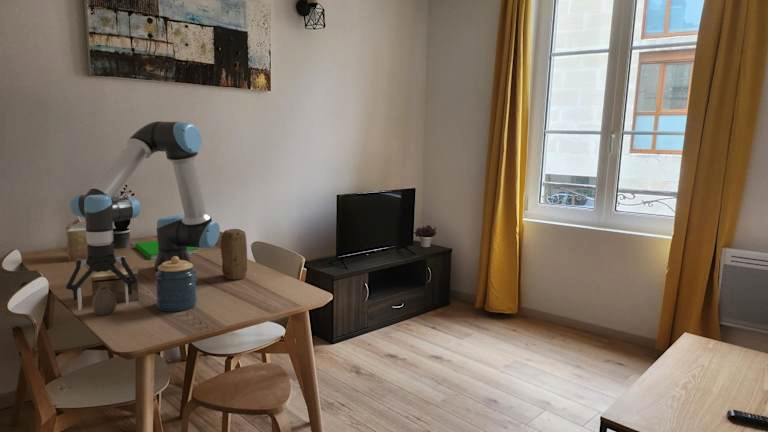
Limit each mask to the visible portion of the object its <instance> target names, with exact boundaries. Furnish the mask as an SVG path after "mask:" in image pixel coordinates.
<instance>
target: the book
mask: <svg viewBox="0 0 768 432" xmlns="http://www.w3.org/2000/svg"><path fill="white" fill-rule="evenodd" d="M134 248H135V249H137V250H138V251H139V252H140V253H141V254H142V255H143V256H145V258H147V259H148V260H150V261H151V260H156V258H157V254H158V241H157V240H152V241H143V242H136V243H135V245H134ZM198 250H199V248H195V247H187V252H188V254H190V255H193V254H192V253H198Z"/></svg>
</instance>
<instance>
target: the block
mask: <svg viewBox="0 0 768 432" xmlns="http://www.w3.org/2000/svg"><path fill="white" fill-rule="evenodd" d="M246 234H247V233H246V231H245V230H242V229H239V228H229V229H226V230H224V231H223V233H222V235H221V238H220V252H221V259H222V261H221V262H222V265H221V267H222V270H221V271H222V274H223V276H224V277H225V278H227V279H228V280H234V281H235V280H242V279H244V278H245V277H246V276H247V271H248V247H247V246H248V244H247V235H246Z"/></svg>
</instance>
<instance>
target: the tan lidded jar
mask: <svg viewBox="0 0 768 432" xmlns="http://www.w3.org/2000/svg"><path fill="white" fill-rule="evenodd" d="M65 237H66V247H67V258H68V262H69V263H76V262H77V260H78V259H79V258H80V259H81V260H87V259H88V253H87V245H88V243H87V238H86V222H85V220H82V219H81V217H79V216H77V219H76V220H74V221H73V222H71V223H69V224H67V226H66V227H65Z"/></svg>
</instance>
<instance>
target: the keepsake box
mask: <svg viewBox="0 0 768 432" xmlns="http://www.w3.org/2000/svg"><path fill="white" fill-rule="evenodd" d="M138 277H139V276H138ZM138 277H136V278H137V283H134V284H132V294H130V295H128V297H129V302H134V301H135V302H136V301H139V297H140V296H139V278H138ZM128 278H129V279H130V280H132V279H131V278H130V277H128ZM125 284H126V283H125V282H124V281H123V280H122V279H120V278H117V279H106V280H95V281H91V290H92V292H91V293H92V299H93V298H94V296H95V294H96V293H97V292H98V290H99V288H100V287H108V289H109V290H110V291H111V292H112V293H113V294H114V295H115V298H116V304H117V303H126V293H125Z"/></svg>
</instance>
